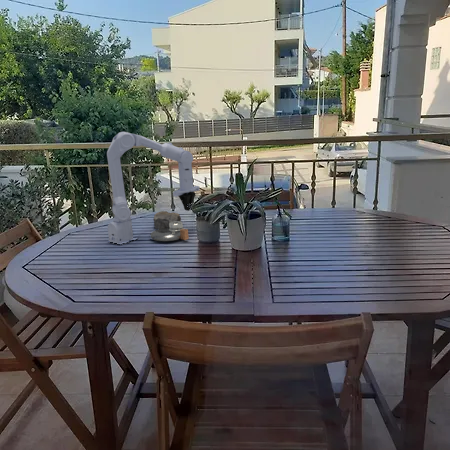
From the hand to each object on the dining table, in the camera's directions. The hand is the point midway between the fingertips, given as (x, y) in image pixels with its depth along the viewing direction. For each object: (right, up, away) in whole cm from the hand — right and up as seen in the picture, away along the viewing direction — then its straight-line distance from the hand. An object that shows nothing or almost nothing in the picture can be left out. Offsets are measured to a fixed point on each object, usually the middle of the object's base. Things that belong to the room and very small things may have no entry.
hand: (188, 209), depth 174 cm
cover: (-5, -9, -4) cm, 11 cm away
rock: (-11, -7, +11) cm, 17 cm away
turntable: (-6, -11, -8) cm, 15 cm away
